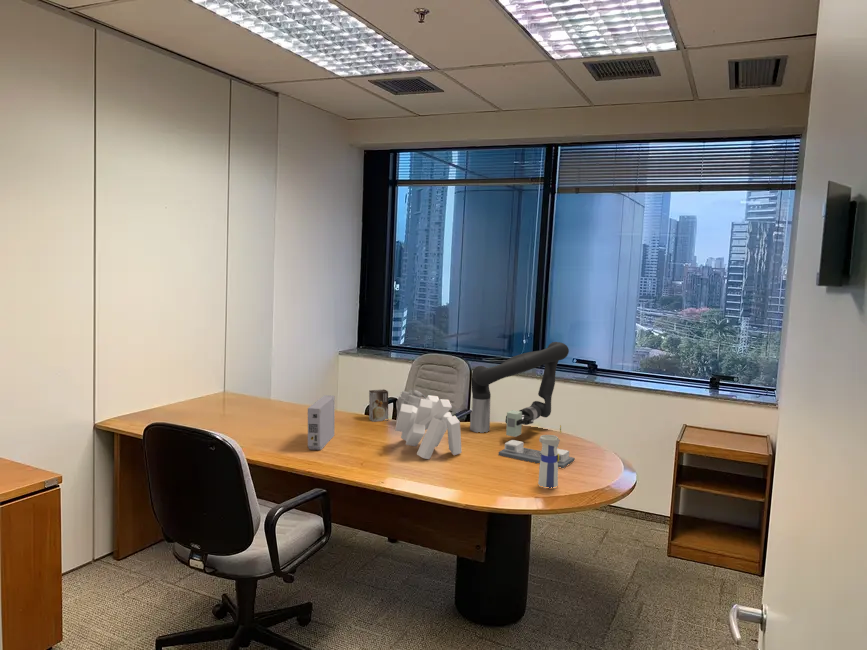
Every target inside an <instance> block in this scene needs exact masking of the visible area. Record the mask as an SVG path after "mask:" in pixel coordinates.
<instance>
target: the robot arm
mask: <svg viewBox="0 0 867 650" xmlns="http://www.w3.org/2000/svg"><path fill="white" fill-rule="evenodd" d="M569 352H570V350H569V347H568V345H566V343H563V342H560V341H552V342H551V343H549V344H548V346H547V347H546V348H544V349H540V350H535V351H529V352H528V351H527V352H524V353H520V354H517V355H513V356H511V357H510V358H508V359H506V360H505V361H504V362H502V363H500V364H497V365H495V366H494V365H493V366H490V367H485V366H483V365H478V366H476V367H474V368H473V370H472V373H471V395H472V401H471V403H472V404H471V411H470V415H469V417H470V418H469V419H470V420H469V422H470V423H469V431H472V432H474V433H478V432H480V434H481V433H484V432H486V433H489V432H491V431H490V428H491V426H490V425H491V397H492V396H491V390H490V385H491V384H493V383H496V382H497V381H500V380H503V379H505V378H508V377H511V376H512V377H513V376H516V375H519V374H521V373H524V372H528V371H530V370H532V369H535V368H538V367H541V366H542V365H543V366H544V370H543V375H542V379H541V381H540V385H539V389H538V394H537V395H538V396H539V397H540V398H542V399H543V400H544V402H542V401H540V400H535V401H533V402H532V403H531V404H530V406H527V407H524V408H522V409H519V410H518V411H520V412H522V419H521V420H518V421H517V422H516V425H517V426H518V425H520V424H522V425H525V426H527V425H530V424H534V421H535V420H537V419H539V418H540V417H543V418H548V417H549V416H550V415H551V413H552V399H553V397H552V396H553V392H554V389H555V385H556V371H557V365H558V364H559V361H563V360H564V359H566V358H567V356H568V355H569ZM505 424H507V415H506V416H505ZM488 431H489V432H488Z"/></svg>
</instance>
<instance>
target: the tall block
mask: <svg viewBox="0 0 867 650" xmlns="http://www.w3.org/2000/svg"><path fill="white" fill-rule="evenodd" d="M506 416H507V423H506V429H505V435H506V436H509V437H515V438H517V437H519V436H520V435H522V427H523V426H522V425H523V424H520V425H518V426H517V425H516V422H517V421H518V420H521V419H522V412H520V411H519V410H514V409H512V410H510V411H507V412H506Z"/></svg>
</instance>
